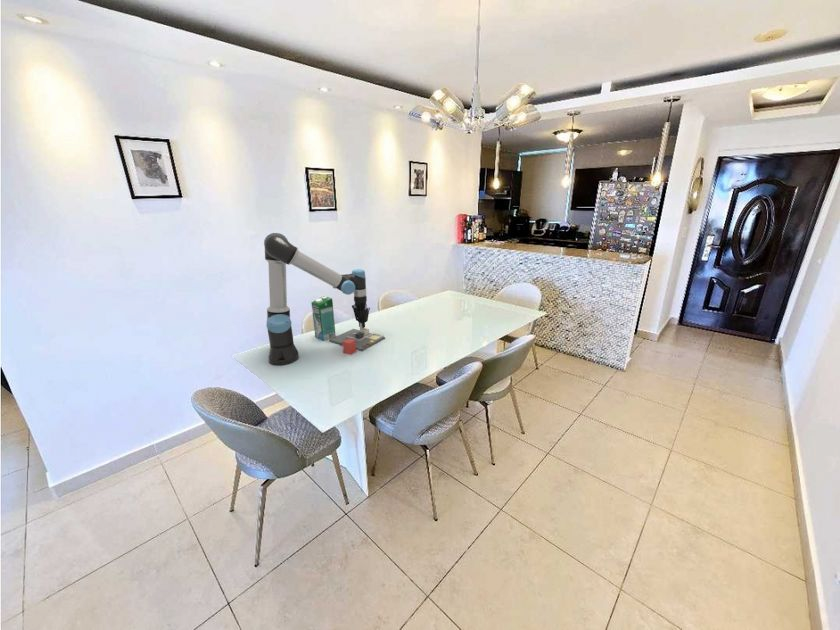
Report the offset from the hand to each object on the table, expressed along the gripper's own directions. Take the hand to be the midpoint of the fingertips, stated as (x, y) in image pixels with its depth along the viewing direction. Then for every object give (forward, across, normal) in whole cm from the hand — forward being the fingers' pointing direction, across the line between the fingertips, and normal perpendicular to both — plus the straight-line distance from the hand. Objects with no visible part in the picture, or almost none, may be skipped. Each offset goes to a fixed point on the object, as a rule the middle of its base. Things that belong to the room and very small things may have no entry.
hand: (362, 332), depth 210 cm
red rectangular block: (+3, +9, -21) cm, 23 cm away
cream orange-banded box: (+1, +2, 0) cm, 3 cm away
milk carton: (+3, -19, -13) cm, 23 cm away
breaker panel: (+3, +1, -6) cm, 7 cm away
